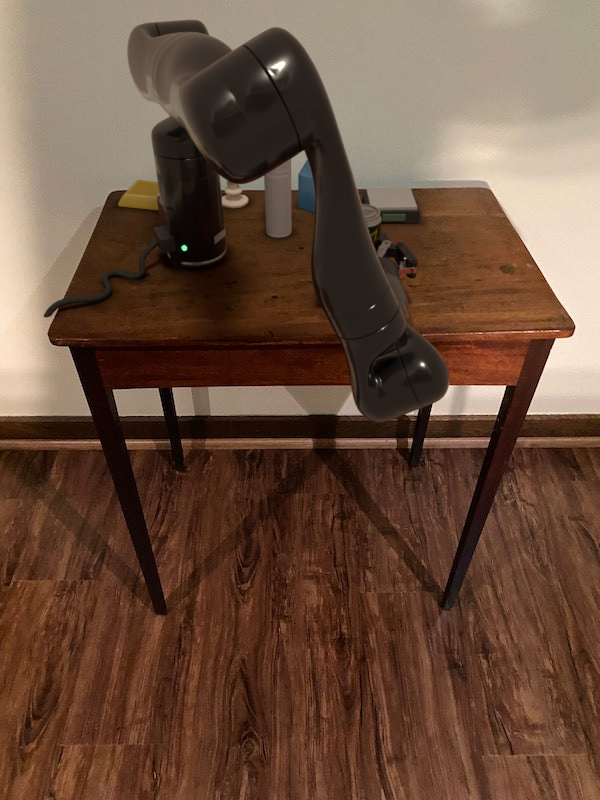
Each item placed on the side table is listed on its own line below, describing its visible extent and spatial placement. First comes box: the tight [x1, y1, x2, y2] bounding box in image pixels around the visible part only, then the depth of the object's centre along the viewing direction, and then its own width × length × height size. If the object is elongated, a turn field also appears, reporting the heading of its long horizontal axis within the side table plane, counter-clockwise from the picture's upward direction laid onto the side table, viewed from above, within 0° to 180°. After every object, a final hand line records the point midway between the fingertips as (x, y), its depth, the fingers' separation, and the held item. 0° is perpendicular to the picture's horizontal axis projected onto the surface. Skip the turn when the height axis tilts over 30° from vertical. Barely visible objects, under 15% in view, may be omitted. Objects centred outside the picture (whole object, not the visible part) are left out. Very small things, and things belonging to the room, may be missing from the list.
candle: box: [222, 180, 250, 209], centre depth 118 cm, size 5×5×10 cm
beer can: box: [361, 203, 382, 251], centre depth 96 cm, size 5×5×12 cm
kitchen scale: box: [361, 187, 421, 225], centre depth 117 cm, size 9×9×3 cm
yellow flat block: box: [117, 179, 160, 211], centre depth 122 cm, size 9×9×2 cm
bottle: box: [263, 158, 293, 239], centre depth 106 cm, size 4×4×20 cm
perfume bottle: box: [297, 159, 315, 214], centre depth 116 cm, size 6×6×12 cm
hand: (357, 236), depth 97 cm, fingers closed on beer can, 5 cm apart
